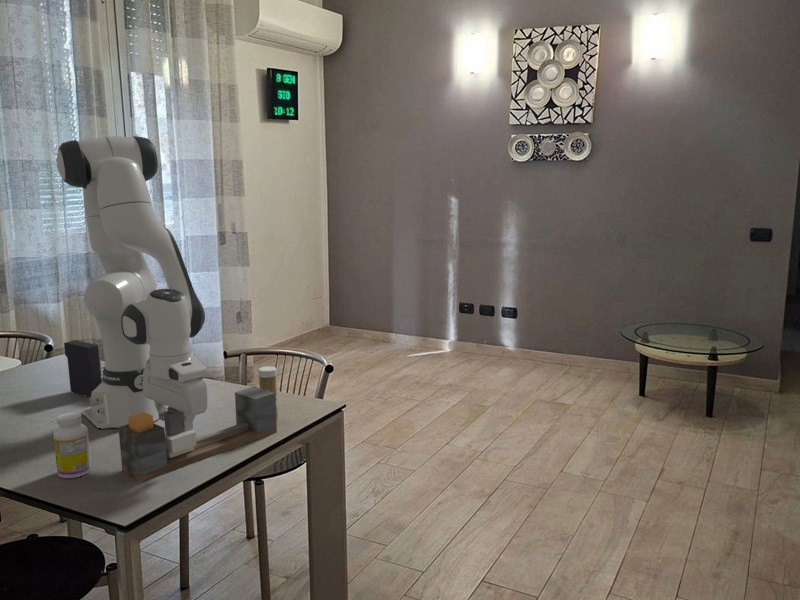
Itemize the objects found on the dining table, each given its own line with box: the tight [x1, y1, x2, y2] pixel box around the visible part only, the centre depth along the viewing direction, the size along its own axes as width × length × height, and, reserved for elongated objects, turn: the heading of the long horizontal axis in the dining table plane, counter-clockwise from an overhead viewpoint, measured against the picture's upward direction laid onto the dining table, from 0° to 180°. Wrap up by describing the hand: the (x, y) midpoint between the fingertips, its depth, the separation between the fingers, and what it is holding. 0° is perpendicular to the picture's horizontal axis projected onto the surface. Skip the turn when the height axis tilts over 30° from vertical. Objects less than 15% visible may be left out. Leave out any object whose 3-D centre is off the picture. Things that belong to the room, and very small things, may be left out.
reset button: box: [128, 412, 155, 433], centre depth 150 cm, size 4×4×5 cm
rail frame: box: [118, 386, 278, 482], centre depth 162 cm, size 8×36×10 cm, turn 139°
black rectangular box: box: [63, 339, 103, 398], centre depth 202 cm, size 11×4×15 cm, turn 58°
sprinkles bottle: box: [257, 365, 279, 420], centre depth 182 cm, size 5×5×13 cm
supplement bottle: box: [52, 411, 92, 479], centre depth 150 cm, size 7×7×13 cm
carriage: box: [164, 406, 197, 458], centre depth 156 cm, size 6×6×10 cm
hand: (175, 424), depth 156 cm, fingers open, 8 cm apart
